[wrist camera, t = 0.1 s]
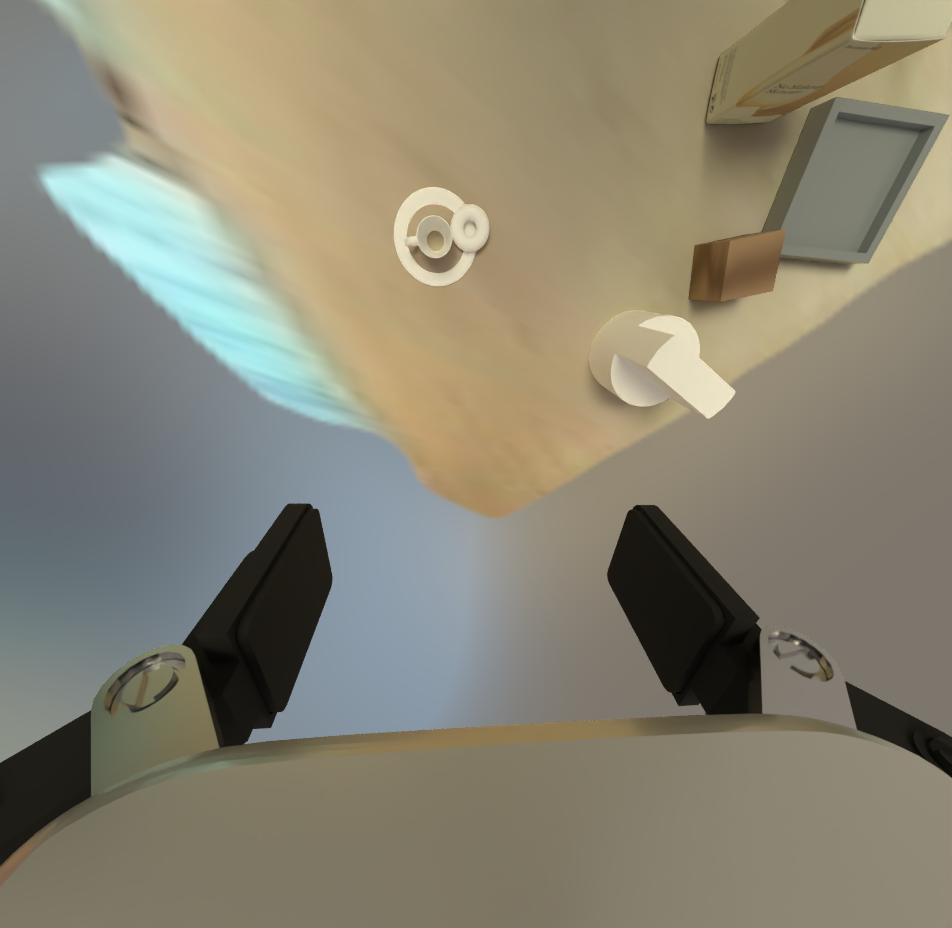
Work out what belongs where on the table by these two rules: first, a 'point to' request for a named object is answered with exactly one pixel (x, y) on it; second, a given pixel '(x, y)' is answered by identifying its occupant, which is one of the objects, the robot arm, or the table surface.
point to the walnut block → (736, 266)
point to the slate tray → (850, 178)
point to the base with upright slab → (656, 363)
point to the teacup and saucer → (459, 231)
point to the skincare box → (818, 53)
